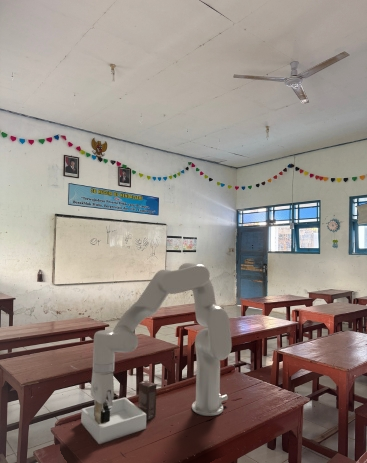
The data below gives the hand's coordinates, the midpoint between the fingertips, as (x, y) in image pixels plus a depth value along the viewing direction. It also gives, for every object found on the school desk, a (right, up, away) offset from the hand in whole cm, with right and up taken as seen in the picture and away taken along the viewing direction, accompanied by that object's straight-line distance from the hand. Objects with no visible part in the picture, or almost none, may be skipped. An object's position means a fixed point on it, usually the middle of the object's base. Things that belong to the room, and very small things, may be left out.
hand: (101, 418), depth 121 cm
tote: (+4, -4, +2) cm, 6 cm away
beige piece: (0, -1, 0) cm, 1 cm away
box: (+15, -5, +11) cm, 19 cm away
